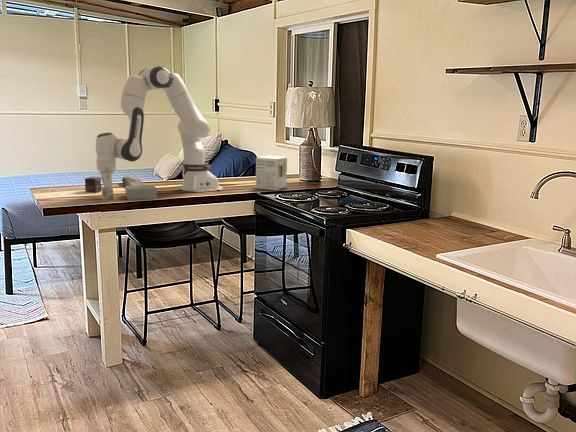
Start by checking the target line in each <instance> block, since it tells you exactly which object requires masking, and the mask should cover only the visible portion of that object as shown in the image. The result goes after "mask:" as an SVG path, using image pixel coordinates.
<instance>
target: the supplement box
mask: <svg viewBox="0 0 576 432" xmlns="http://www.w3.org/2000/svg"><path fill="white" fill-rule="evenodd" d="M287 168H288V156H279V155H262V156H258V157H256V158H255V188H256V189H261V190H271V191H279V190H282V189H285V188H287V182H288V181H287V173H288V171H287V170H288V169H287Z"/></svg>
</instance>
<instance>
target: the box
mask: <svg viewBox="0 0 576 432" xmlns="http://www.w3.org/2000/svg"><path fill="white" fill-rule="evenodd" d="M84 185H85V188H84V189H85V193H93V194H94V193H99V192H102V177H99V176H90V177H86V178H84Z"/></svg>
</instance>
